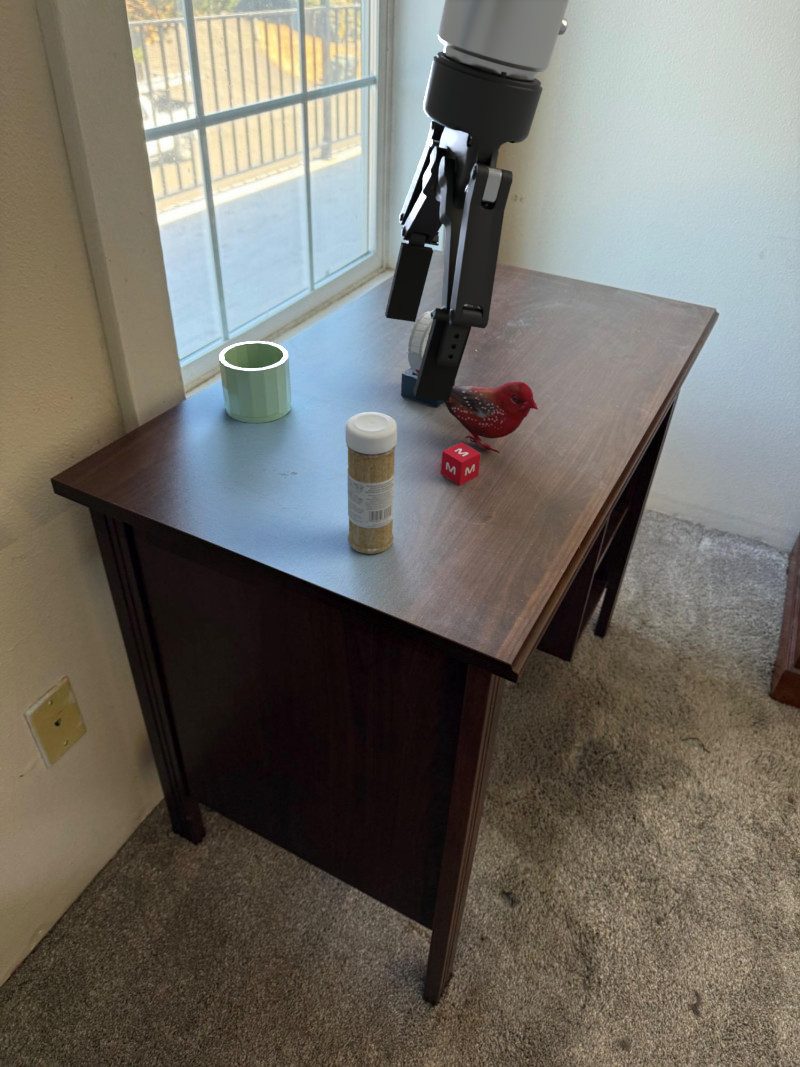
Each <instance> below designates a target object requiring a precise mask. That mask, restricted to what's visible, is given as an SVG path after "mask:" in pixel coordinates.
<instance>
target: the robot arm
mask: <svg viewBox="0 0 800 1067" xmlns="http://www.w3.org/2000/svg"><path fill="white" fill-rule="evenodd" d="M569 1H570V0H444V5H443V9H442V13H441V17H440V22H439V27H438V32H437V37H438V40H439V42H440V43H441V44H442V45H444V47H443V51H438V52H437V54H436V56H433V58H432V62H431V68H430V72H429V76H428V79H427V85H426V89H425V95H424V99H423V105H422V107H423V108H422V109H423V112H424V113H425V115H426V116H427V118H429V119H431V121H430V123H429V124H430V125H429V131H428V135H427V138H426V142H425V146H424V149H423V152H422V155H421V156H420V160H419V162H418V165H417V168H416V170H415V173H414V175H413V179H412V181H411V184H410V186H409V189H408V192H407V195H406V197H405V200H404V203H403V205H402V208H401V211H400V214H399V215H398V221H399V225H401V226H402V227H401V232H400V235H401V240H402V241H401V242H400V246H399V251H398V255H397V259H396V264H395V268H394V273H393V276H392V277H393V278H392V282H391V286H390V290H389V296H388V299H387V304H386V308H385V312H384V315H385V318H386V319H389V320H390V319H391V320H399V321H405V322H411V323H415V322H416V321H417V317H418V313H419V309H420V305H421V301H422V298H423V293H424V290H425V289H424V288H425V285H426V281H427V277H428V274H429V270H430V267H431V266H430V265H431V262H432V259H433V258H432V257H433V254H434V249H433V247H429V246H425V245H432V246H435V247H436V246H437V247H438V246H439V245H440V243H439V242H440V229H441V228H442V227H443V226H444V227H445V228H444V229H445V235H444V250H443V251H444V252H443V268H442V269H443V270H442V286H441V302H440V308H439V307H435V308H434V309H433V310H431V311H432V312H431V319H433V322H432V325H431V329H430V333H429V335H427V340H426V344H425V346H424V350H423V358H422V362H421V366H420V369H419V373H418V377H417V380H416V384H415V388H414V395H415V397H418V398H427V399H435V400H444V401H449V399H450V395H451V392H452V389H453V386H454V382H455V383H456V379H457V376H458V372H459V369H460V366H461V363H462V359H463V356H464V353H465V349H466V346H467V343H468V340H469V336H470V334H471V331H472V328H479V329H486V327H487V326H488V325H489V324H488V322H489V320H490V312H491V307H492V306H491V305H492V298H493V292H494V286H495V285H494V284H495V277H496V270H497V264H498V258H499V250H500V242H501V236H502V230H503V223H504V222H503V221H504V216H505V210H506V205H507V202H508V198H509V195H510V191H511V187H512V184H513V178H514V177H513V176H514V173H513V171H512V170H507V169H503V168H497V164H498V157H499V150H500V149H501V146H502V145H504V144H506V143H510V144H518V143H522V142H523V141H525V140H526V139H527V138H528V137H529V134H530V132H531V128H532V124H533V121H534V119H535V115H536V112H537V109H538V107H539V106H538V105H539V102H540V100H541V99H540V98H541V96H542V93H543V87H542V82H541V81H540V80H539V79H538V78H537V74H538V73H543V72H545V71H546V70H548V69H549V67H550V63H551V60H552V57H553V54H554V50H555V47H556V44H557V40H558V36H562V35H564V34H565V33H566V31H567V29H568V26H569V23H568V20H567V19H566V18H565V15H566V11H567V8H568V4H569ZM403 241H404V242H403Z"/></svg>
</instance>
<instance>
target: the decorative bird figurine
mask: <svg viewBox="0 0 800 1067" xmlns="http://www.w3.org/2000/svg"><path fill="white" fill-rule="evenodd" d="M416 372H417V373H419V370H418V369H416ZM443 401H444V400H443ZM443 404H444V405H445V407H446V408H447V410H448V412H449V413H450V414H451V415H452V416H453V417H454V418H455V419H456V420H457V421H458V422H459V423H460V424H461V426H462V427H464V428H465V429H466V430H467V431H468V433H470V435H466V436H464V438H465V439H469V441H470V442H471V443H473V444H475V445H478V446H479V447H480V448H482V449H483V450H485V451H492V452H496V453H498V454H501V452H500V451H499V450H497V449H495V448H492V446H491V444H489V443H486V442H484V441H483V440H482V438H484V439H485V438H487V439H499V438H504V437H507V436H509V435H510V434H512V433H514V432H515V431H516V430H517V429H518V428H519V427H520V425H521V424H522V423H523V420H524V419H525V418H527V417H528V415H529V413H530V411H531V409H534V410H538V411H539V407H538V404H537V403H536V402H535V399H534V393H533V391H532V389H531V387H530V386H529V385H528V384H527V383H526V382H523V381H509V382H505V383H503V384H501V385H500V386H498V387H482V386H477V385H476V386H475V385H455V386H453V389H452V392H451V395H450V399H449V401H444V403H443ZM481 437H482V438H481Z"/></svg>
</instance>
